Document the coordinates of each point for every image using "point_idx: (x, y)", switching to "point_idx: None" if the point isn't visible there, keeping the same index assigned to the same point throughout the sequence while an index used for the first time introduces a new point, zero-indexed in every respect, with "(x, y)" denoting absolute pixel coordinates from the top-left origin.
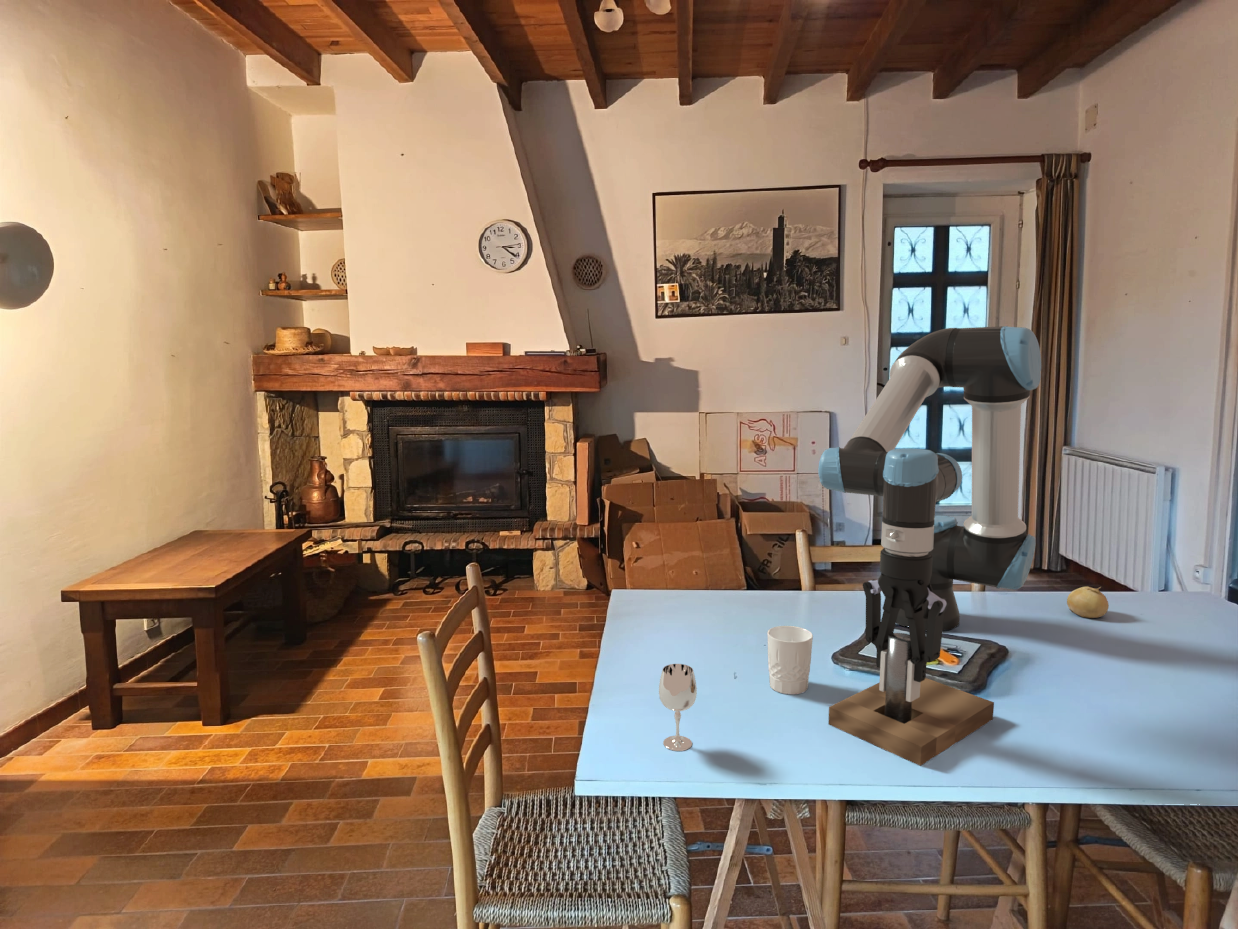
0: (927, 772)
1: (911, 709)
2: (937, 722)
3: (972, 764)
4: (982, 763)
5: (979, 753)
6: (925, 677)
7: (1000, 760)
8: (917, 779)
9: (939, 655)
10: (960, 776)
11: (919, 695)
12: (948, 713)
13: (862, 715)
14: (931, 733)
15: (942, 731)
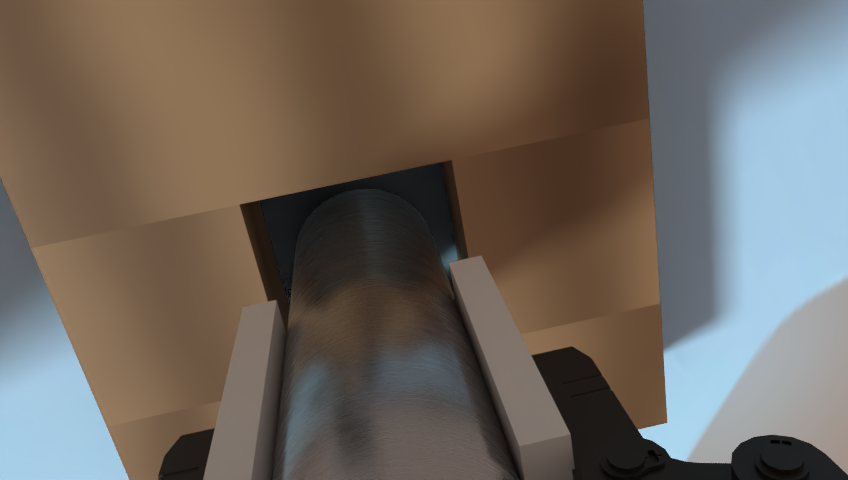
0: (672, 376)
1: (439, 258)
2: (569, 179)
3: (753, 172)
4: (777, 125)
5: (726, 58)
6: (590, 359)
7: (819, 23)
8: (677, 438)
9: (831, 468)
10: (766, 289)
11: (483, 263)
12: (536, 26)
13: None
14: (623, 298)
15: (643, 233)
